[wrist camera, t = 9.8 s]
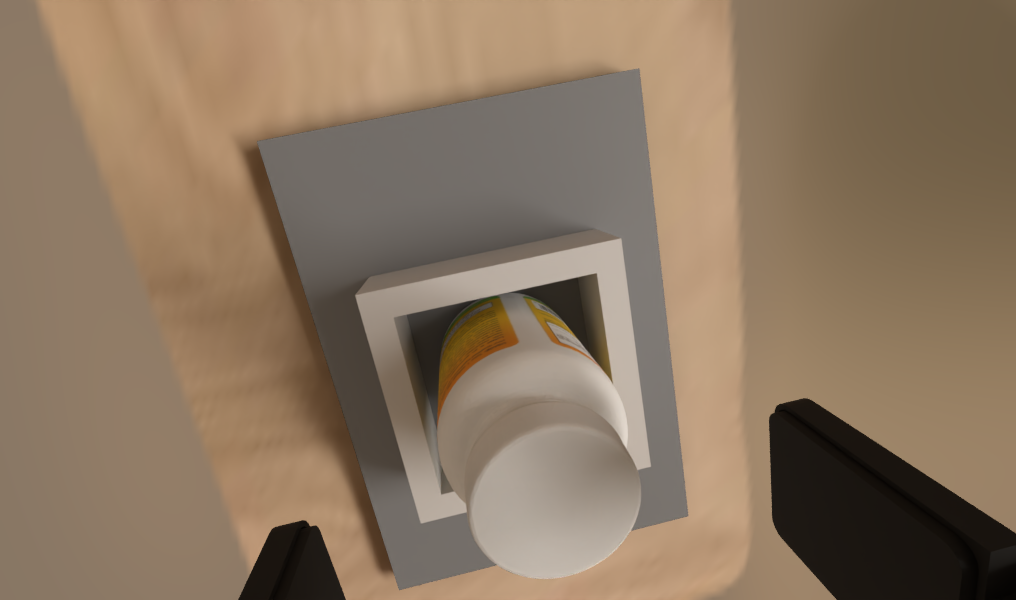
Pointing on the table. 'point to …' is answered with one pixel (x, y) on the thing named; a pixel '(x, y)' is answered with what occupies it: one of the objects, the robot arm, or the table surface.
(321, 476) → the table surface
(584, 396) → the supplement bottle
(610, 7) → the table surface
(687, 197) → the table surface
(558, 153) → the cup holder
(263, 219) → the table surface
